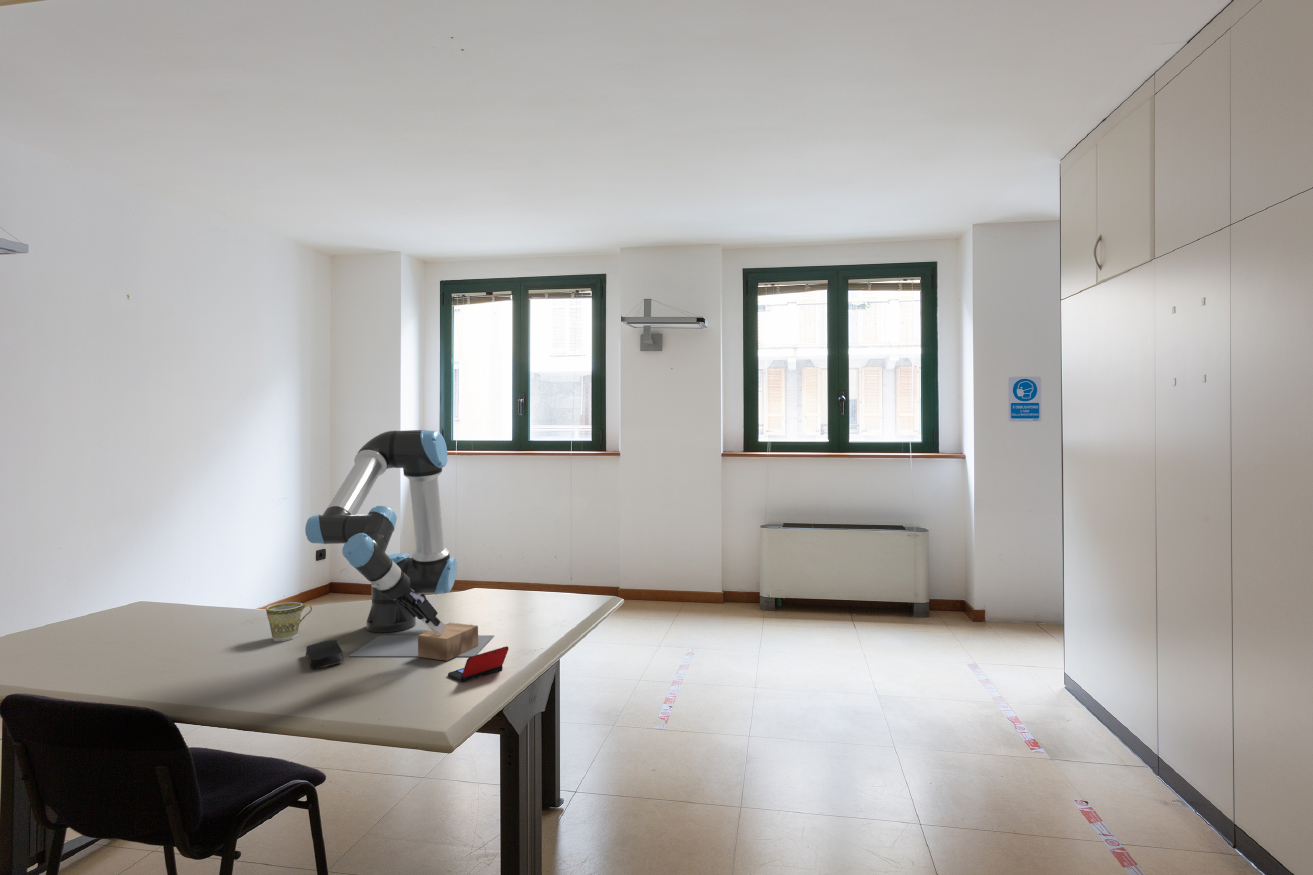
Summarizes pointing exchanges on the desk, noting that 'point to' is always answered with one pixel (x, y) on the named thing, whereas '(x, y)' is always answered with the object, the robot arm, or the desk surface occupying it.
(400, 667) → the desk surface
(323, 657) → the black sponge
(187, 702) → the desk surface
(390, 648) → the felt pad
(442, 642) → the walnut block
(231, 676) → the desk surface
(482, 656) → the handheld game console
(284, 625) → the ceramic cup
